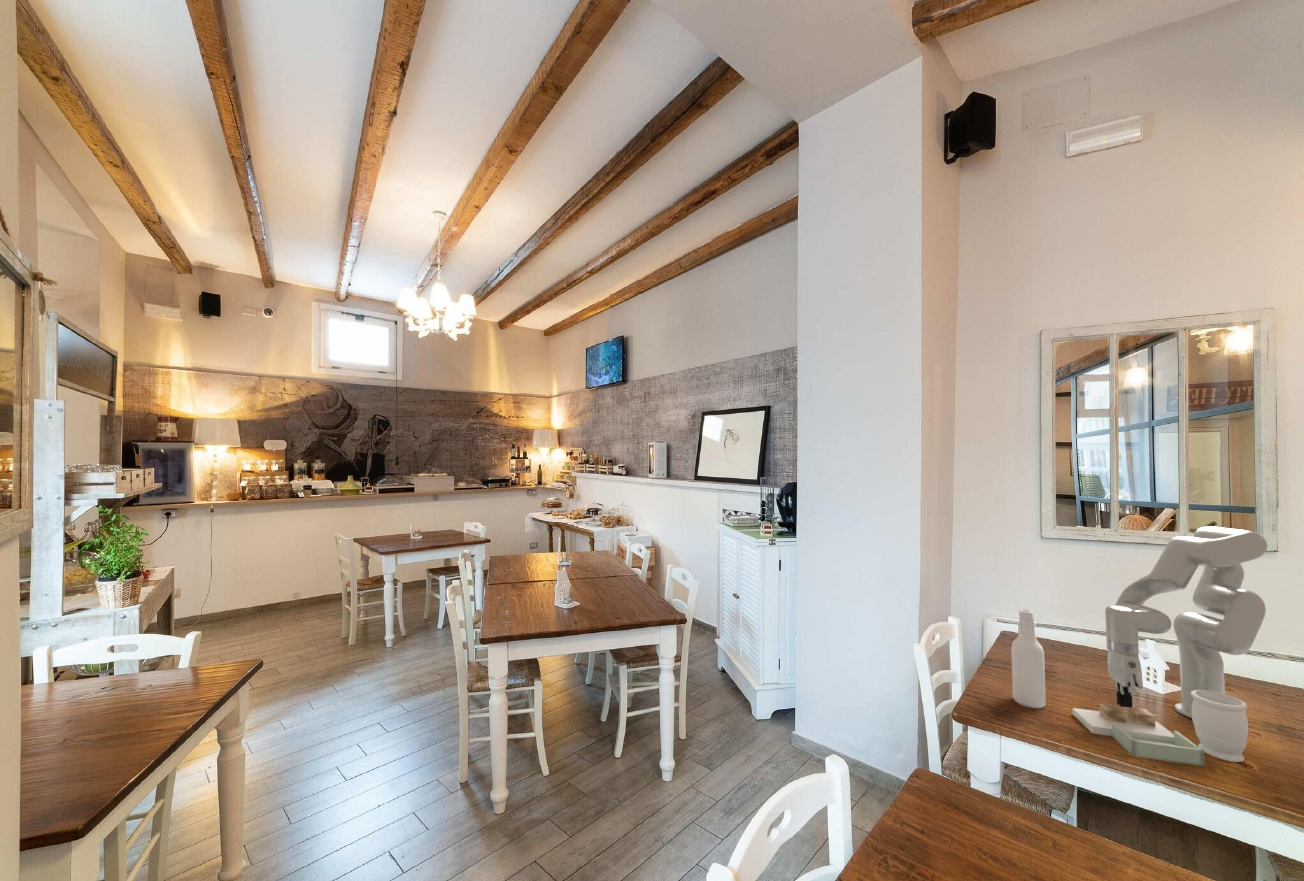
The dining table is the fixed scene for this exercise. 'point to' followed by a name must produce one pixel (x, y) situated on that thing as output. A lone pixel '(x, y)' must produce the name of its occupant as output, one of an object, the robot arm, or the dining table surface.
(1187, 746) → the tray
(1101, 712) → the tan block
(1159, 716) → the dining table surface
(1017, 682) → the alcohol
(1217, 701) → the jar
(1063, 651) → the dining table surface
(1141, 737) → the board
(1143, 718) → the tan faceted block
